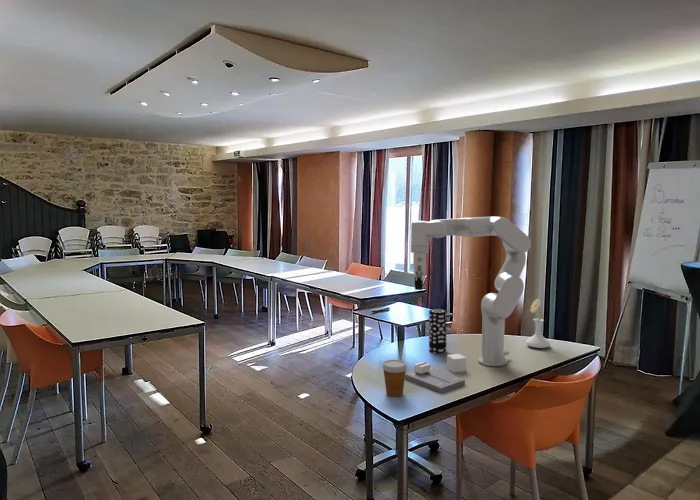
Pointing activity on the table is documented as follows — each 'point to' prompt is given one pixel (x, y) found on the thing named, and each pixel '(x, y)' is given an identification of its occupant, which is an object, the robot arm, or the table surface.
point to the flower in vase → (537, 329)
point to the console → (435, 380)
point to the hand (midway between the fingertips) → (418, 287)
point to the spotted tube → (437, 331)
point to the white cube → (456, 363)
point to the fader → (422, 367)
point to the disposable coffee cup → (394, 377)
